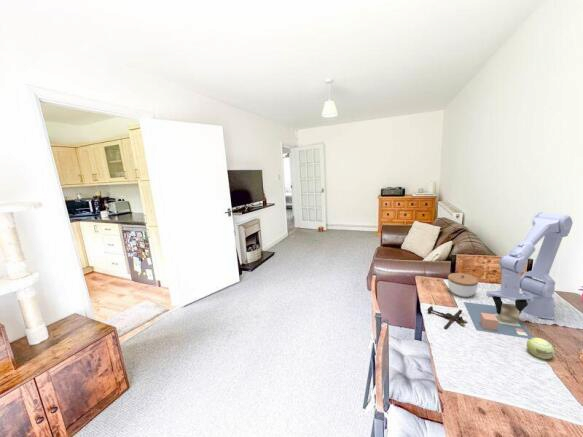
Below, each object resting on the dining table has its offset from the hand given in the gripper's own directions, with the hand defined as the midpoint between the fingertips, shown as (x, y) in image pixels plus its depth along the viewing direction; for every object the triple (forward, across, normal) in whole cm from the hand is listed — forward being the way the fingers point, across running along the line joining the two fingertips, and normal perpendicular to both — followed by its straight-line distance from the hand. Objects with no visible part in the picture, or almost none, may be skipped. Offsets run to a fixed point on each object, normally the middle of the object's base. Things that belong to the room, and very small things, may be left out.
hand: (507, 314), depth 101 cm
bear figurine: (+4, -22, -5) cm, 23 cm away
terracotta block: (+3, -8, -7) cm, 11 cm away
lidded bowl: (+3, -12, +20) cm, 24 cm away
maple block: (+1, 0, 0) cm, 1 cm away
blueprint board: (+3, -4, 0) cm, 5 cm away
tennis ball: (+3, +3, -19) cm, 20 cm away
